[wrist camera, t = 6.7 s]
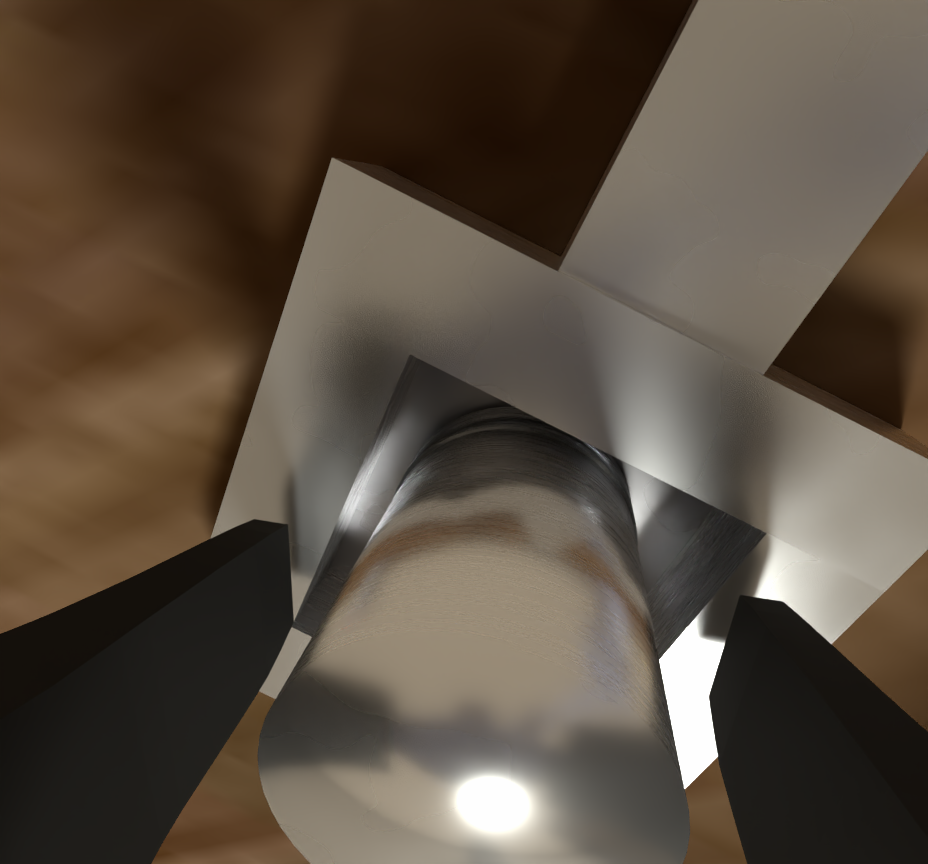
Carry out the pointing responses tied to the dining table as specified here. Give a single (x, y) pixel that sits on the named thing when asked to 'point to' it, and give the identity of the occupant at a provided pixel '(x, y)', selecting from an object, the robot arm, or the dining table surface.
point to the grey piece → (628, 339)
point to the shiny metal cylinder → (485, 672)
